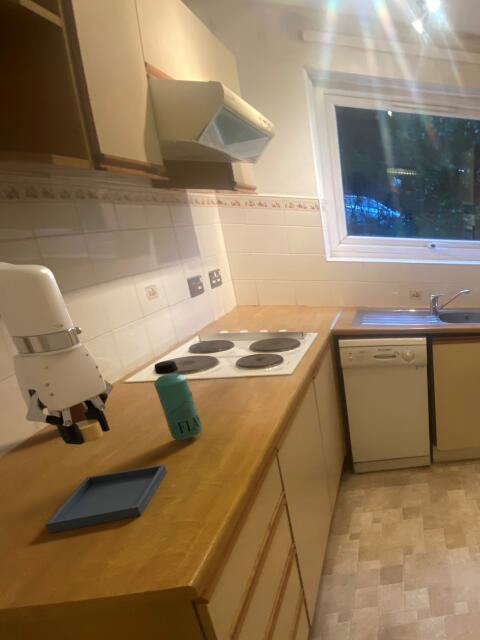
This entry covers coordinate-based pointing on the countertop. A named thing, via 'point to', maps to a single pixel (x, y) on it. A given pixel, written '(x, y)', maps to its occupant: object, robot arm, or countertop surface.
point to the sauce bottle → (77, 413)
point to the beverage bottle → (177, 401)
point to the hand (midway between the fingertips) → (88, 436)
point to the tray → (108, 498)
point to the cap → (90, 430)
